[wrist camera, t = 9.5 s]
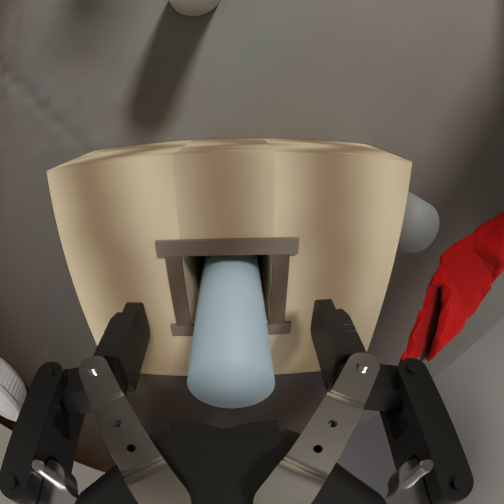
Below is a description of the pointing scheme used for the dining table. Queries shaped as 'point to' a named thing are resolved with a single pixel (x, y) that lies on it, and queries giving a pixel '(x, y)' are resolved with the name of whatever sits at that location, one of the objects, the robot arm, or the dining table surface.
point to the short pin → (418, 225)
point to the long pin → (231, 335)
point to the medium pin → (193, 6)
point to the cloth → (458, 287)
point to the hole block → (231, 234)
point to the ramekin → (11, 391)
